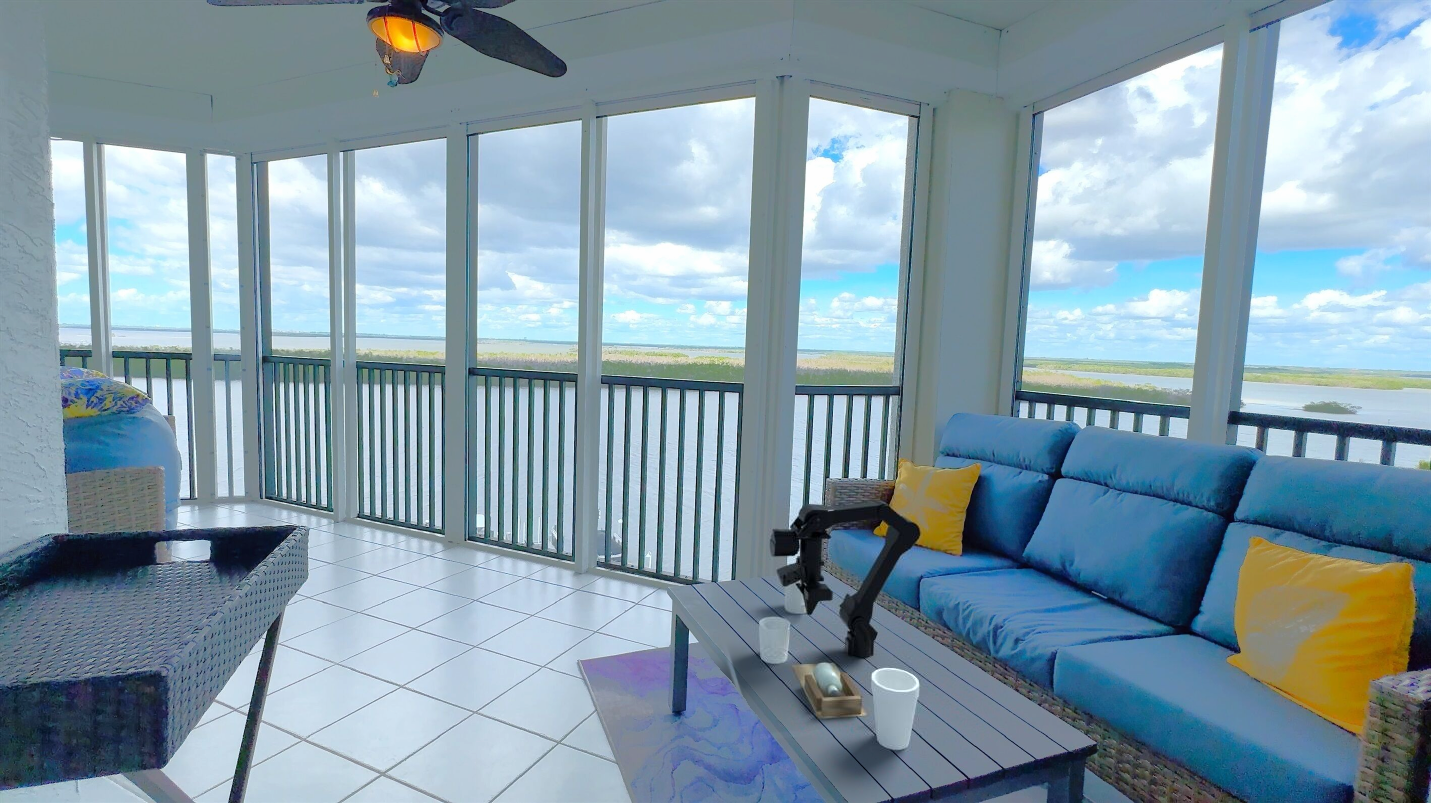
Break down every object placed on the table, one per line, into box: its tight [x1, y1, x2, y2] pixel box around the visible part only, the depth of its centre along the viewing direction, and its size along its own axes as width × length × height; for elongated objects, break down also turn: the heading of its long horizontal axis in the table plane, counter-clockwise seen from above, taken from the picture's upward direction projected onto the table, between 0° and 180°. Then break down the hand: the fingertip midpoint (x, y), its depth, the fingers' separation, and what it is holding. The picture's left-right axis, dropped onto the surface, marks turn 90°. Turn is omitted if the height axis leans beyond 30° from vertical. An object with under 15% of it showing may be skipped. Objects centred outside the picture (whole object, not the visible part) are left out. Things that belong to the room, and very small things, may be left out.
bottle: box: [813, 662, 842, 698], centre depth 144 cm, size 5×5×10 cm
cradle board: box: [791, 662, 868, 720], centre depth 147 cm, size 11×23×4 cm, turn 8°
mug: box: [784, 581, 807, 615], centre depth 192 cm, size 12×8×10 cm, turn 21°
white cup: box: [758, 616, 791, 665], centre depth 161 cm, size 8×8×10 cm
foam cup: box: [870, 667, 920, 751], centre depth 129 cm, size 10×9×13 cm
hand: (809, 614), depth 162 cm, fingers closed
